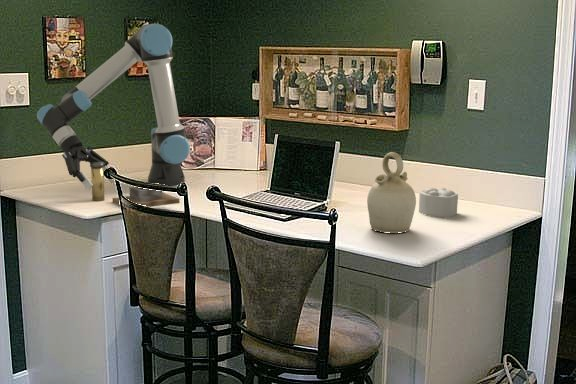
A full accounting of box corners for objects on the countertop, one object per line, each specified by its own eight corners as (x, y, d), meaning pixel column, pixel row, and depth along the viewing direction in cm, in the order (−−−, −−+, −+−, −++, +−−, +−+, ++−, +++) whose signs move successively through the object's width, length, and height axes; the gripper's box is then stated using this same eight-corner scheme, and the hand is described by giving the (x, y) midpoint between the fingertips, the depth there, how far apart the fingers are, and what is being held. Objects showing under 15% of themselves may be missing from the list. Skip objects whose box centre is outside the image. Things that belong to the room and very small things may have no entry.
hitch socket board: (162, 196, 283) (161, 181, 282) (179, 202, 272) (179, 188, 270) (112, 202, 271) (112, 187, 270) (128, 209, 260) (128, 193, 259)
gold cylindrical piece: (102, 198, 278) (100, 161, 275) (107, 200, 274) (106, 163, 271) (89, 199, 275) (87, 162, 272) (94, 202, 271) (93, 164, 268)
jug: (381, 237, 228) (385, 156, 223) (357, 225, 241) (360, 149, 236) (424, 233, 234) (428, 154, 229) (397, 222, 247) (401, 147, 242)
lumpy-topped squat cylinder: (447, 218, 253) (449, 193, 252) (413, 213, 261) (414, 189, 259) (459, 213, 262) (461, 189, 260) (425, 208, 269) (426, 184, 267)
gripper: (84, 143, 288) (117, 185, 285) (39, 151, 265) (74, 196, 262) (95, 130, 285) (128, 172, 282) (49, 137, 262) (85, 183, 259)
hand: (102, 184), depth 272 cm, fingers open, 13 cm apart
